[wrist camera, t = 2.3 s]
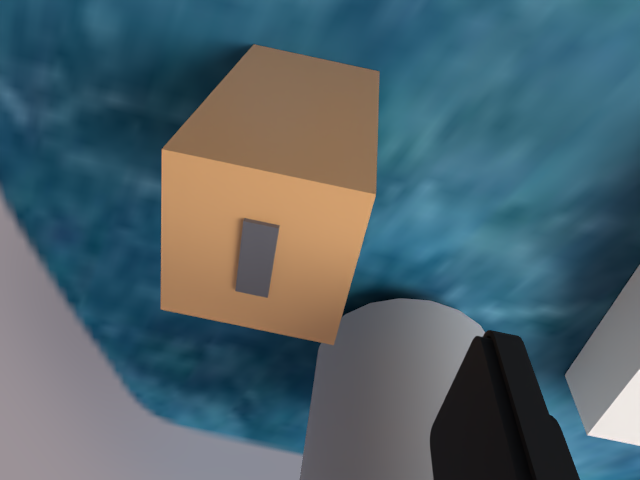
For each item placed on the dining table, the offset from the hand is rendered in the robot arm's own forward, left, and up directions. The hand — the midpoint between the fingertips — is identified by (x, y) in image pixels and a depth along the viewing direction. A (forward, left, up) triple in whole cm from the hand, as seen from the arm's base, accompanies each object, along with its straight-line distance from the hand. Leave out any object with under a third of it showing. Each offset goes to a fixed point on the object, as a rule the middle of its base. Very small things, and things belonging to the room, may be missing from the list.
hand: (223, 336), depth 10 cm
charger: (-1, 0, -10) cm, 9 cm away
